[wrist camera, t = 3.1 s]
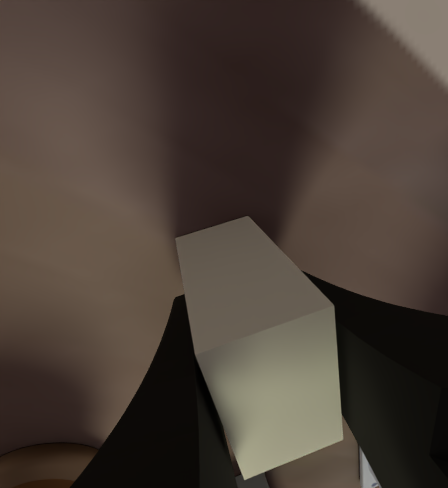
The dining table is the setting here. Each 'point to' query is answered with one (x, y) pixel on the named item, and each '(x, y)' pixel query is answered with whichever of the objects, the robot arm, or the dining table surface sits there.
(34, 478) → the wooden knob
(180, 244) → the tab block
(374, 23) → the dining table surface
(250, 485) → the notched board
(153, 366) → the robot arm
